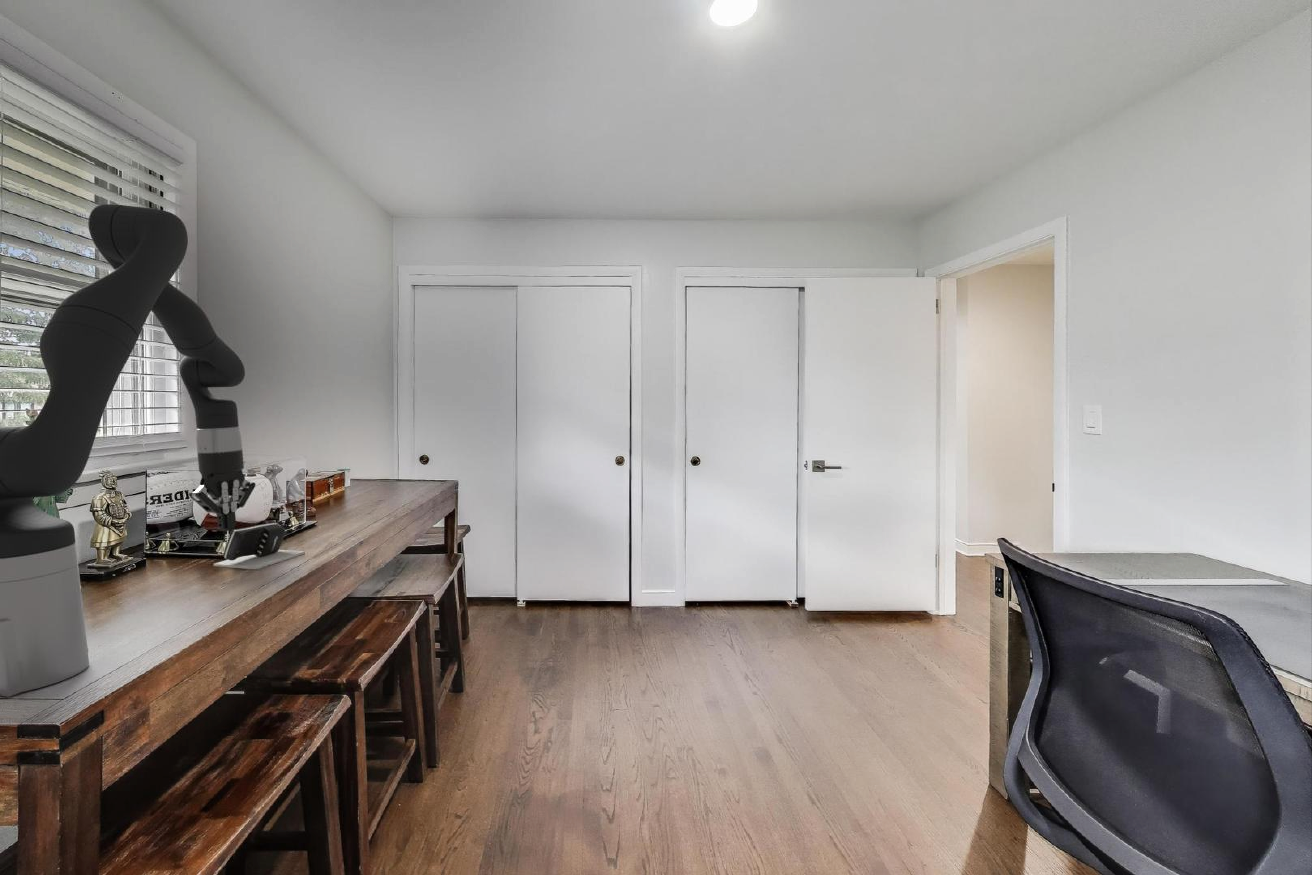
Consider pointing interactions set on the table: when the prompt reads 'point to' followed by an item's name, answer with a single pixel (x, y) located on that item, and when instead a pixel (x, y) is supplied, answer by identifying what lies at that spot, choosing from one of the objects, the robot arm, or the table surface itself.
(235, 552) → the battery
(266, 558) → the mat
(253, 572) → the table surface
